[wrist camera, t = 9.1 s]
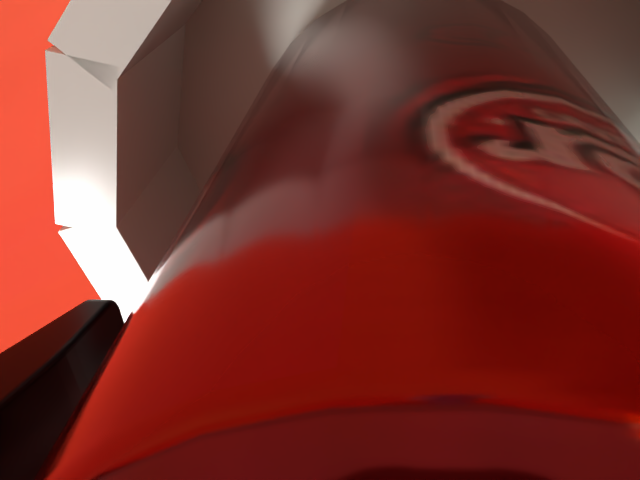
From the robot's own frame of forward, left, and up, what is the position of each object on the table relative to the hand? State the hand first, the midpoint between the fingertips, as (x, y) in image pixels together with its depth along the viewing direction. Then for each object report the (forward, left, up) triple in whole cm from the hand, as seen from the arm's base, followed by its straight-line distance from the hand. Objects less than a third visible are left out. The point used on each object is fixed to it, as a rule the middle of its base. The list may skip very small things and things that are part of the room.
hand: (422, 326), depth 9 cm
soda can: (0, 0, -7) cm, 7 cm away
